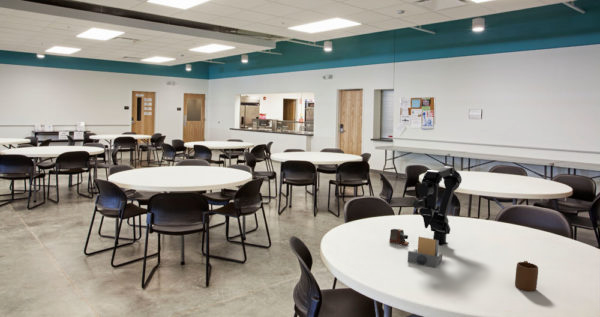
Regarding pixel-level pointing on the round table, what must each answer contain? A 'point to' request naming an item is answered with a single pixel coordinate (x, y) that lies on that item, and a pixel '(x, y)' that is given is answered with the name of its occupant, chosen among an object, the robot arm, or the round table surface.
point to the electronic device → (398, 237)
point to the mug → (526, 276)
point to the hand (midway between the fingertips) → (428, 226)
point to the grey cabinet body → (424, 259)
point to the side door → (428, 246)
